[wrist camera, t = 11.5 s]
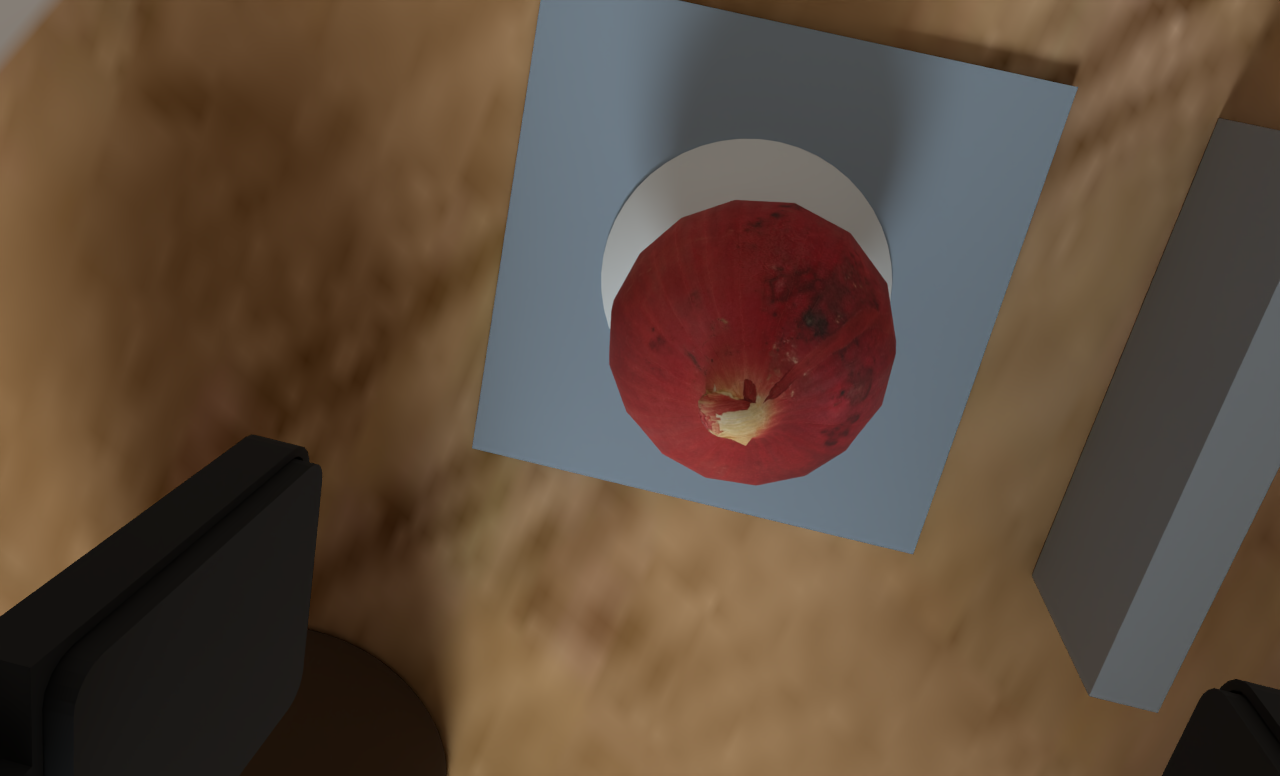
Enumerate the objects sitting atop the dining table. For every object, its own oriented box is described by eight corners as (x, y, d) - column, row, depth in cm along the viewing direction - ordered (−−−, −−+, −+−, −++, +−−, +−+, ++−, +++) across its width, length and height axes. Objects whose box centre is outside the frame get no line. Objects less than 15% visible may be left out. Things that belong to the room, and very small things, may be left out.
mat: (911, 546, 26) (913, 556, 26) (476, 442, 27) (471, 449, 26) (1072, 85, 22) (1079, 87, 21) (548, -28, 22) (544, -30, 22)
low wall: (1088, 589, 26) (1157, 712, 21) (1031, 575, 26) (1088, 695, 21) (1286, 132, 22) (1429, 162, 17) (1219, 117, 22) (1343, 143, 17)
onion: (779, 122, 22) (781, 172, 15) (925, 315, 23) (995, 453, 16) (588, 275, 24) (504, 389, 17) (732, 448, 25) (714, 627, 18)
